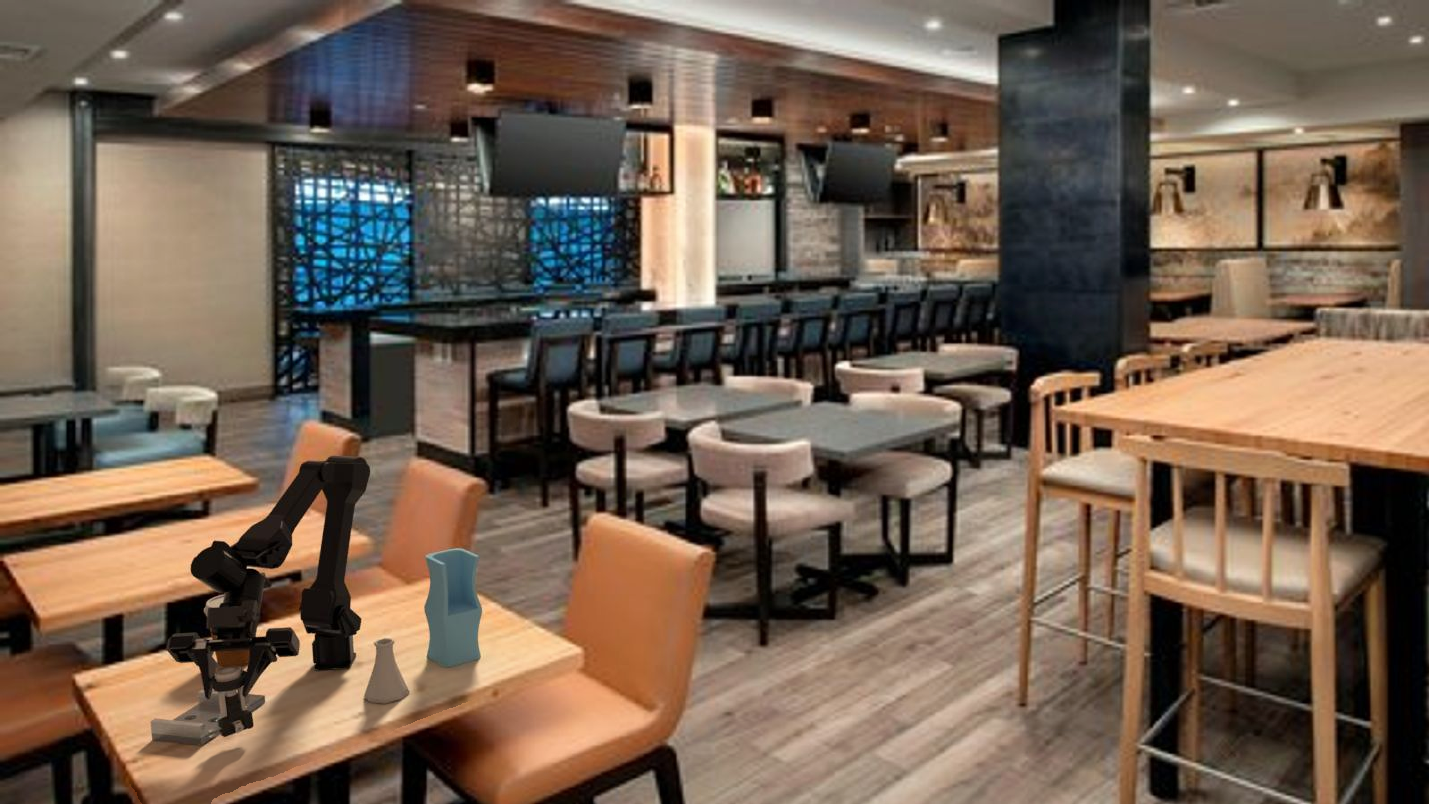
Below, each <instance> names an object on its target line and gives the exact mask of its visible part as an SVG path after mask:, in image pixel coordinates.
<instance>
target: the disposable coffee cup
mask: <svg viewBox="0 0 1429 804" xmlns="http://www.w3.org/2000/svg"><path fill="white" fill-rule="evenodd" d="M223 600H224V594H219V595H217V596H214V597H212V598H210V599H208V600H207V601H206V602H205V607H204V608H203V613H204V614H205V617H207V613H208V608H215V607H219V606H220V603H223ZM211 630H212V628H210V629H209V631H210V635H211V639H216V637H217V635H213V634H212V633H211ZM214 653H215V656H216V662H217V666H219V667H222V668H225V667H229V666H238V667H240V666H244V665H246V664H247V665H248V663H249V653H250V650H235V651H218V652H214Z"/></svg>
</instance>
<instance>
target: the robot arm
mask: <svg viewBox="0 0 1429 804" xmlns="http://www.w3.org/2000/svg"><path fill="white" fill-rule="evenodd" d="M298 469H299V470H298V473H297V475H296V476H295V477H294V479H293V480H292V481H291V483H290V484H289V486H288V487H287V488H286V490H285V491H284V493H283V494H282V495H281V497H280V498H279V500H278V501H277V503H276V504H275V505H274V507H273V508H272V510H271V511H270V512H269V513H268V515H267V516H266V517H265V518H263V519H262V520H260V521H258V522H256V523H255V524H254V523H253V524H252V525H250V527H249V528H248V529H247V530H246V531H245V532H244V533H243V534H242V535H241V536H240V537H239V539H238V540H237V541H236V542H235V543H233V544H231V545H229V544H228V543H227V542H226V541H223V540H213V542H212V543H211V545H210V546H208V547H206V548H205V549H204V548H203V550H201V551H200V552H199V553H198V554H197V555H196V556H194V557H193V559H192V561H191V563H190V567H189V568H190V569H189V570H190V573H191V575H192V577H194V578H195V579H196V580H198V581H200V582H201V583H202V584H204V585H205V586H207V587H209V588H210V589H212V590H213V591H215V592H217V593H219V594H223V595H224V600H223V603H220V606H219V607H215V608H208V613H207V616H206V629H207V630H210V628H212V630H211V631H210V634H211V633H212V634H213V635H217V637H216V639H212V638H211V639H210V638H209V639H206V638H201V637H200V636H199V634H198V632H183V633H182V632H181V633H173V634H172V635H171V636H170V637H169V638H168V639H167V644H166V649H165V650H166V651H167V652H168V654H169V655H170V656H171V658H173V660H174V661H175V662H176V663H180V664H184V663H186V664H188V663H193V664H195V665H196V666H197V667H199V671H200V676H201V681H202V687H203V688H202V689H203V690H204V693H205V697H206V699H210V697H211V694H212V691H214V689H213V686H212V684H211V683H210V679H211V678H212V677H213V676H215V675H216V673H215V672H216V671H217V666H218V662H217V660H215V658H214V657H213V656H214V653H215V652H218V651H235V650H250V653H249V663H247V668H246V670H245V671H246V675H245V679H244V684H243V691H242V695H243V697H247V695H248V694H250V692H251V690H252V689H253V688H254V686H255V685H256V683H257V682H258V680H259V679H260V677H261V676H262V674H263V673H264V672H265V670H266V669H267V668H268V667H269V666H270V665H271V663H276V662H278V658H287V657H297V656H299V654H300V649H301V648H300V646H301V644H300V643H301V642H300V639H299V638H298V636H297V634H296V632H295V630H294V629H293V628H292V627H290V626H289V627H271V628H270V627H269V628H268V629H267V630H266V631H265V635H264V636H257V632H258V631H257V629H258V625H259V623H260V622H261V618H262V616H261V614H260V613H261V606H262V600H263V594H264V589H268V588H271V587H272V586H273V585H272V582H271V580H270V579H269V578H268V577H267V575H266V573H265V572H260V571H258V570H257V569H255V568H258V569H267V570H268V569H269V570H273V569H279V568H280V567H281V566H282V565H283V564H284V563H285V561H286V558H287V557H288V555H289V553H290V551H291V549H292V547H293V533H294V532H295V529H296V528H297V526H298V525H299V524H300V522H301V521H302V519H303V518H304V517H305V515H306V513H307V512H308V511H309V509H310V508H311V506H312V504H313V503H314V501H315V500H316V499H317V497H318V496H319V494H320V492H322V494H323V496H324V498H325V499H326V509H325V515H324V522H323V529H322V536H321V543H320V550H319V557H318V562H317V563H318V564H317V571H316V576H315V579H314V581H313V583H312V584H311V585H310V587H309V588H307V587H306V588H303V589H302V592H301V602H300V605H299V608H298V611H300V612H299V613H300V615H299V616H300V620H301V622H302V624H303V627H304V630H305V632H306V634H313V635H314V639H313V641H312V643H311V649H312V662H313V664H314V666H313V670H314V671H321V670H323V671H324V670H325V671H326V670H339V669H341V670H342V669H349V668H351V667H352V664H353V663H354V661H355V659H356V657H357V652H355V649H354V636H356V635H357V634H358V632H359V631H361V626H362V618H361V616H360V615H358V614H357V613H356V612H355V611H354V610H353V609H352V608H351V606H352V605H351V603H352V602H351V599H352V598H351V594H350V591H349V588H348V586H347V584H346V582H345V578H346V571H347V564H348V556H349V551H350V543H351V536H352V535H351V534H352V529H353V528H352V527H353V520H354V515H355V507H356V504H357V503H358V501H359V500H360V499H361V498H362V497H363V495H364V494H365V493H366V490H367V488H368V487H367V486H368V483H369V479H370V475H371V468H370V465H369V464H368V463H367V461H366V459H365V458H363V457H362V456H348V455H346V456H345V455H330V456H329V457H327V459H325V460H307V461H303V462H302V463H301V464H300V467H299V468H298ZM277 656H278V657H277Z"/></svg>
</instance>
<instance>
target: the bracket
mask: <svg viewBox="0 0 1429 804" xmlns="http://www.w3.org/2000/svg"><path fill="white" fill-rule="evenodd" d="M197 695H198V703H197V704H196V705H194V706H192V707H191V708H190V709H188V710H186V711H185V712H182V714H179V715H178V716H177V717H175V718H173V719H164V718H163V719H162V718H153V719H151V720H150V731H151V740H152V741H156V742H165V743H166V742H167V743H176V744H183V745H193V746H200V747H201V746H203V745H205V744H206V743H208V742H209V741H210V740H212V739H214V738H215V737H212V738H210V737H209V736H211V735H213V734H215V733H218V730H216V731H213V730H211V729H214V728H216V727H217V719H218V718H220V716H219V714H221V711H220V704H219V696H218V692H217V691H214V690H212V694H211V697H210V699H206V697H205V693H204V689H201V690H200V691H198V692H197ZM224 695H225V693H224ZM244 700H245V706H247V709H246V710H248V711H250V712H252V713H253V711H255V710H256V709H257V708H259V707H260V706H262V705H264V704H265V703H266V695H263V694H254V693H253V694H252V693H249V694H248V695H247V697H244ZM209 730H211V731H213V732H208V731H209Z"/></svg>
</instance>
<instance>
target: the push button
mask: <svg viewBox="0 0 1429 804" xmlns="http://www.w3.org/2000/svg"><path fill="white" fill-rule="evenodd" d="M246 671H247V670H244V669H241V667H240V666H229V667H222V668H220V669H218V670H216V672H215V676H213V677H212V678H211V679H210V683H211V684H212V686H213V691H217V692H218V696H219V704H220V711H221V714H219V716H220V718H218V719H217V727H216V728H214V729H211V730H213V731H216V730H218V733H215V734H213V735H211V736H209V737H210V738H212V737H214V738H215V737H217V736H222V737H223V738H226V737H229V736H232V735H234V734H239V733H241V732H243V731H246V730H251V729H253V728H254V726H255V725H254V718H253V711H252V712H250V711H248V710H246V709H247V706H245V700H244V697H243V695H242V691H243V684H244V679H245V675H246ZM224 693H225V695H224ZM211 730H209V731H208V732H213V731H211ZM212 739H213V738H212Z"/></svg>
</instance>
